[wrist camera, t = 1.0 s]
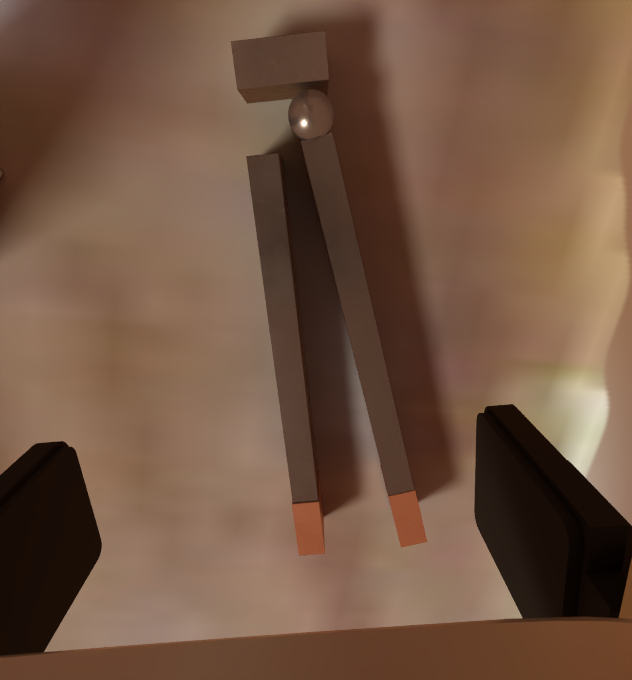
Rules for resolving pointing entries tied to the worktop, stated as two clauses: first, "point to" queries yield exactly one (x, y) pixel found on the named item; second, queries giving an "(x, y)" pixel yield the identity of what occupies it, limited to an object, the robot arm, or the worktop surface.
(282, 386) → the arm
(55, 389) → the worktop surface
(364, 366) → the tongs moving arm
